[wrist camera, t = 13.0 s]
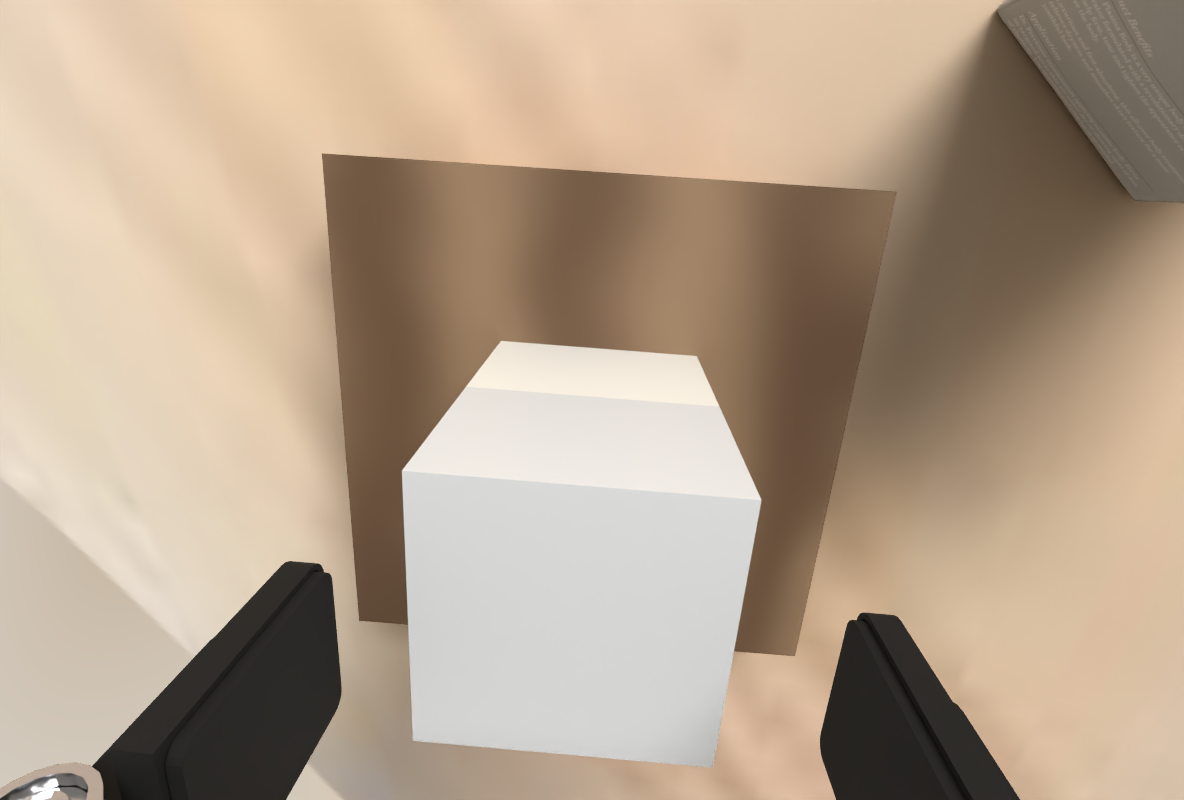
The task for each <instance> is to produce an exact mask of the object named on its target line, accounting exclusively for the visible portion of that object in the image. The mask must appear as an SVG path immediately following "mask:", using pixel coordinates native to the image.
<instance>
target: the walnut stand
mask: <svg viewBox="0 0 1184 800" xmlns="http://www.w3.org/2000/svg"><path fill="white" fill-rule="evenodd" d="M322 159H323V172H324V184H325V197H326V209H327V222H328V235H329V247H330V260H331V272H332V285H333V297H334V310H335V322H336V335H337V347H338V360H339V372H340V385H341V397H342V410H343V423H344V435H345V448H346V460H347V473H348V485H349V498H350V510H351V523H352V535H353V548H354V560H355V573H356V585H357V598H358V610H359V621H371V622H383V623H396V624H408V609H407V585H406V560H405V536H404V511H403V487H402V470H403V469H404V467H405V466H406V465H407V463H408V462H409V461H410V460H411V458H412V457H413V456H414V454H415V453H416V452H417V450H418V449H419V448H420V446H421V445H422V444H423V442H424V441H425V440H426V439H427V437H428V436H429V435H430V433H431V432H432V431H433V429H434V428H435V427H436V425H437V424H438V423H439V422H440V420H441V419H442V418H443V416H444V415H445V414H446V412H447V411H448V410H449V408H450V407H451V406H452V404H453V403H454V402H455V401H456V399H457V398H458V397H459V395H460V394H461V393H462V391H463V390H464V389H465V387H466V386H467V385H468V384H469V382H470V381H471V380H472V378H473V377H474V376H475V374H476V373H477V372H478V370H479V369H480V368H481V367H482V365H483V364H484V363H485V361H486V360H487V359H488V357H489V356H490V355H491V353H492V352H493V351H494V349H495V348H496V347H497V346H498V344H499V343H500V342H501V341H509V342H522V343H535V344H547V345H560V346H573V347H586V348H599V349H612V350H625V351H638V352H651V353H664V354H677V355H690V356H697V358H698V360H699V362H700V364H701V367H702V369H703V371H704V373H705V376H706V378H707V380H708V382H709V384H710V387H711V389H712V391H713V393H714V396H715V398H716V400H717V402H718V404H719V407H720V409H721V411H722V413H723V416H724V418H725V420H726V422H727V424H728V427H729V429H730V431H731V433H732V436H733V438H734V440H735V442H736V444H737V447H738V449H739V451H740V453H741V456H742V458H743V460H744V462H745V464H746V467H747V469H748V471H749V473H750V476H751V478H752V480H753V482H754V484H755V487H756V489H757V491H758V493H759V496H760V498H761V506H760V511H759V517H758V522H757V528H756V533H755V539H754V544H753V550H752V555H751V561H750V566H749V572H748V577H747V583H746V588H745V594H744V599H743V604H742V610H741V615H740V621H739V626H738V632H737V637H736V643H735V648H734V651H738V652H750V653H763V654H775V655H787V656H795V653H796V649H797V644H798V640H799V635H800V630H801V626H802V621H803V617H804V612H805V608H806V603H807V598H808V594H809V589H810V585H811V580H812V576H813V571H814V566H815V562H816V557H817V553H818V548H819V544H820V539H821V534H822V530H823V525H824V521H825V516H826V512H827V507H828V502H829V498H830V493H831V489H832V484H833V479H834V475H835V470H836V466H837V461H838V457H839V452H840V447H841V443H842V438H843V434H844V429H845V425H846V420H847V415H848V411H849V406H850V402H851V397H852V393H853V388H854V383H855V379H856V374H857V370H858V365H859V361H860V356H861V351H862V347H863V342H864V338H865V333H866V329H867V324H868V319H869V315H870V310H871V306H872V301H873V297H874V292H875V287H876V283H877V278H878V274H879V269H880V265H881V260H882V255H883V251H884V246H885V242H886V237H887V232H888V228H889V223H890V219H891V214H892V210H893V205H894V200H895V196H896V192H892V191H876V190H861V189H846V188H831V187H816V186H801V185H786V184H771V183H756V182H741V181H726V180H711V179H696V178H681V177H666V176H651V175H636V174H621V173H606V172H591V171H576V170H561V169H546V168H531V167H516V166H501V165H486V164H471V163H456V162H441V161H425V160H410V159H395V158H380V157H365V156H350V155H335V154H322Z"/></svg>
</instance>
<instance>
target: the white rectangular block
mask: <svg viewBox="0 0 1184 800" xmlns="http://www.w3.org/2000/svg"><path fill="white" fill-rule="evenodd" d="M402 487H403V511H404V536H405V560H406V585H407V609H408V634H409V658H410V683H411V707H412V732H413V741H421V742H432V743H443V744H454V745H465V746H476V747H488V748H499V749H510V750H521V751H532V752H544V753H555V754H566V755H577V756H588V757H599V758H611V759H622V760H633V761H644V762H655V763H667V764H678V765H689V766H700V767H711V768H713V763H714V758H715V752H716V747H717V741H718V736H719V730H720V725H721V719H722V714H723V708H724V703H725V698H726V692H727V687H728V681H729V676H730V670H731V665H732V659H733V654H734V648H735V643H736V637H737V632H738V626H739V621H740V615H741V610H742V604H743V599H744V594H745V588H746V583H747V577H748V572H749V566H750V561H751V555H752V550H753V544H754V539H755V533H756V528H757V522H758V517H759V511H760V506H761V498H760V496H759V493H758V491H757V489H756V487H755V484H754V482H753V480H752V478H751V476H750V473H749V471H748V469H747V467H746V464H745V462H744V460H743V458H742V456H741V453H740V451H739V449H738V447H737V444H736V442H735V440H734V438H733V436H732V433H731V431H730V429H729V427H728V424H727V422H726V420H725V418H724V416H723V413H722V411H721V409H720V407H719V404H718V402H717V400H716V398H715V396H714V393H713V391H712V389H711V387H710V384H709V382H708V380H707V378H706V376H705V373H704V371H703V369H702V367H701V364H700V362H699V360H698V358H697V356H690V355H677V354H664V353H651V352H638V351H625V350H612V349H599V348H586V347H573V346H560V345H547V344H535V343H522V342H509V341H501V342H500V343H499V344H498V346H497V347H496V348H495V349H494V351H493V352H492V353H491V355H490V356H489V357H488V359H487V360H486V361H485V363H484V364H483V365H482V367H481V368H480V369H479V370H478V372H477V373H476V374H475V376H474V377H473V378H472V380H471V381H470V382H469V384H468V385H467V386H466V387H465V389H464V390H463V391H462V393H461V394H460V395H459V397H458V398H457V399H456V401H455V402H454V403H453V404H452V406H451V407H450V408H449V410H448V411H447V412H446V414H445V415H444V416H443V418H442V419H441V420H440V422H439V423H438V424H437V425H436V427H435V428H434V429H433V431H432V432H431V433H430V435H429V436H428V437H427V439H426V440H425V441H424V442H423V444H422V445H421V446H420V448H419V449H418V450H417V452H416V453H415V454H414V456H413V457H412V458H411V460H410V461H409V462H408V463H407V465H406V466H405V467H404V469H403V470H402Z"/></svg>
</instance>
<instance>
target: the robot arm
mask: <svg viewBox="0 0 1184 800" xmlns="http://www.w3.org/2000/svg"><path fill="white" fill-rule="evenodd" d="M340 698H341V676H340V664H339V653H338V642H337V630H336V619H335V607H334V596H333V584H332V577H331V575H330V574H329V573H324V571H323V568H322V566H321V565H320V564H315V563H304V562H293V561H289V562H285V563H284V564H283V565H282V566H281V567H280V568H279V569H278V570H277V571H276V572H275V573H274V574H273V575H272V576H271V578H270V579H269V580H268V581H267V582H266V583H265V584H264V585H263V586H262V587H261V588H260V589H259V590H258V591H257V592H256V594H255V595H254V596H253V597H252V598H251V599H250V600H249V601H248V602H247V603H246V604H245V605H244V606H243V607H242V608H241V610H240V611H239V612H238V613H237V614H236V615H235V616H234V617H233V618H232V619H231V620H230V621H229V622H228V623H227V625H226V626H225V627H224V628H223V629H222V630H221V631H220V632H219V633H218V634H217V635H216V636H215V637H214V638H213V639H212V640H210V641H209V642H208V643H207V644H206V646H205V647H204V648H203V649H202V650H201V651H200V652H199V653H198V654H197V655H196V656H195V657H194V658H193V659H192V660H191V662H190V663H189V664H188V665H187V666H186V667H185V668H184V669H183V670H182V671H181V672H180V673H179V674H178V675H177V676H176V678H175V679H174V680H173V681H172V682H171V683H170V684H169V685H168V686H167V687H166V688H165V689H164V690H163V691H162V692H161V693H160V695H159V696H158V697H157V698H156V699H155V700H154V701H153V702H152V703H151V704H150V705H149V706H148V707H147V708H146V710H144V712H143V713H142V714H141V715H140V716H139V717H138V718H137V719H136V720H135V721H134V722H133V723H132V724H131V725H130V726H129V728H128V729H127V730H126V731H125V732H124V733H123V734H122V735H121V736H120V737H119V738H118V739H117V740H116V741H115V742H114V743H113V745H112V746H111V747H110V748H109V749H108V750H107V751H106V752H105V753H104V754H103V755H102V756H101V757H100V758H99V759H98V761H97V762H96V763H95V764H94V765H93V766H90V765H85V764H80V763H67V764H57V765H53V766H49V767H46V768H42V769H39V770H36V771H33V772H31V773H29V774H27V775H25V776H23V777H20V778H18V779H16V780H14V781H12V782H10V783H9V784H7V785H6V786H4V787H2V788H1V789H0V800H286V799H287V797H288V795H289V793H290V792H291V790H292V788H293V786H294V784H295V783H296V781H297V779H298V777H299V776H300V774H301V772H302V770H303V769H304V767H305V765H306V763H307V762H308V760H309V758H310V756H311V755H312V753H313V751H314V749H315V747H316V746H317V744H318V742H319V740H320V739H321V737H322V735H323V733H324V732H325V730H326V728H327V726H328V725H329V723H330V721H331V719H332V717H333V716H334V714H335V712H336V710H337V708H338V705H339V702H340ZM820 749H821V755H822V759H823V762H824V765H825V768H826V771H827V774H828V777H829V780H830V783H831V786H832V788H833V791H834V794H835V797H836V800H1020V799H1019V797H1018V796H1017V794H1016V793H1015V791H1014V790H1013V788H1012V787H1011V785H1010V783H1009V782H1008V780H1007V779H1006V777H1005V776H1004V774H1003V773H1002V771H1001V770H1000V768H999V766H998V765H997V763H996V762H995V760H994V759H993V757H992V756H991V754H990V753H989V751H988V749H987V748H986V746H985V745H984V743H983V742H982V740H981V739H980V737H979V735H978V734H977V732H976V731H975V729H974V728H973V726H972V725H971V723H970V722H969V720H968V718H967V717H966V715H965V714H964V712H963V711H962V710H961V709H960V708H959V706H958V705H957V704H955V703H954V702H952V700H951V699H950V697H949V695H948V694H947V692H946V691H945V689H944V688H943V686H942V685H941V683H940V681H939V680H938V678H937V677H936V675H935V674H934V672H933V670H932V669H931V667H930V666H929V664H928V663H927V661H926V659H925V658H924V656H923V655H922V653H921V652H920V650H919V648H918V647H917V645H916V644H915V642H914V641H913V639H912V637H911V636H910V634H909V633H908V631H907V630H906V628H905V627H904V625H903V623H902V622H901V620H900V619H899V618H898V617H897V616H894V615H885V614H874V613H861V614H860V615H859V616H858V618H857V620H850V621H849V622H848V624H847V627H846V631H845V635H844V640H843V644H842V648H841V652H840V656H839V660H838V665H837V669H836V673H835V677H834V681H833V685H832V689H831V694H830V698H829V702H828V706H827V710H826V714H825V718H824V723H823V727H822V731H821V736H820Z"/></svg>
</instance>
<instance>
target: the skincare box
mask: <svg viewBox="0 0 1184 800" xmlns="http://www.w3.org/2000/svg"><path fill="white" fill-rule="evenodd" d="M997 10H998V14H999V15H1000V17H1001V19H1002V20H1003V22H1004V23H1005V24H1006V26H1007V27H1008V28H1009V30H1010V31H1011V32H1012V34H1013V35H1014V36H1015V38H1016V39H1017V40H1018V42H1019V43H1020V45H1021V46H1022V47H1023V49H1024V50H1025V51H1026V53H1027V54H1028V55H1029V57H1030V58H1031V59H1032V61H1033V62H1034V64H1035V65H1036V66H1037V68H1038V69H1039V70H1040V72H1041V73H1042V74H1043V76H1044V77H1045V78H1046V80H1047V81H1048V83H1049V84H1050V85H1051V87H1052V88H1053V89H1054V91H1055V92H1056V93H1057V95H1058V96H1059V98H1060V99H1061V100H1062V102H1063V103H1064V105H1065V106H1066V107H1067V109H1068V110H1069V112H1070V113H1071V114H1072V116H1073V117H1074V119H1075V120H1076V121H1077V123H1078V124H1079V126H1080V127H1081V128H1082V130H1083V131H1084V133H1085V134H1086V135H1087V137H1088V138H1089V140H1090V141H1091V142H1092V144H1093V145H1094V146H1095V148H1096V149H1097V151H1098V152H1099V153H1100V155H1101V156H1102V157H1103V159H1104V160H1105V161H1106V163H1107V164H1108V166H1109V167H1110V168H1111V170H1112V171H1113V172H1114V174H1115V175H1116V177H1117V178H1118V179H1119V181H1120V182H1121V183H1122V185H1123V186H1124V187H1125V189H1126V190H1127V191H1128V192H1129V194H1130V195H1131V196H1132V198H1133V199H1134V200H1137V201H1159V202H1181V203H1184V0H1005V1H1004V2H1003V3H1002V4H1001V5H1000V6H999V8H998V9H997Z"/></svg>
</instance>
